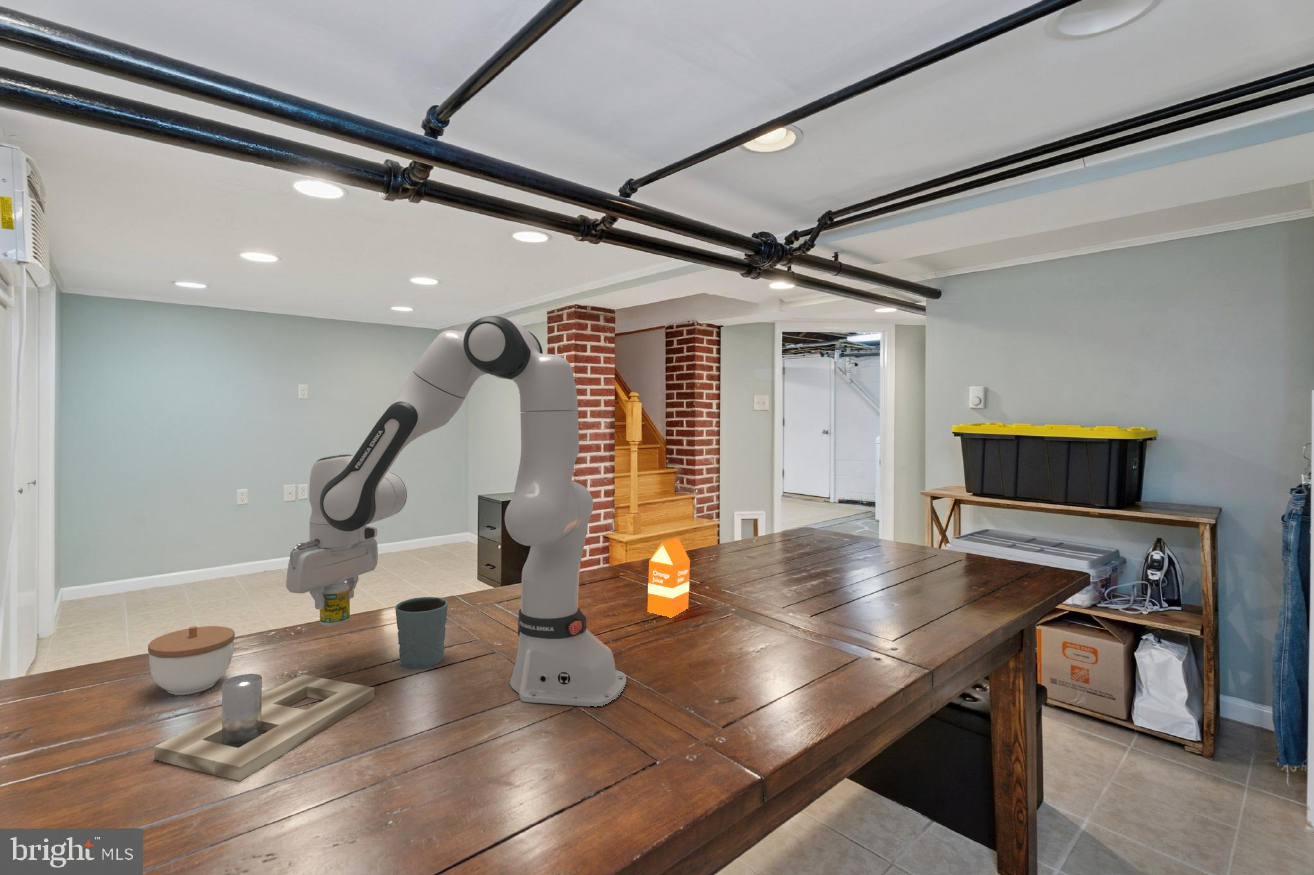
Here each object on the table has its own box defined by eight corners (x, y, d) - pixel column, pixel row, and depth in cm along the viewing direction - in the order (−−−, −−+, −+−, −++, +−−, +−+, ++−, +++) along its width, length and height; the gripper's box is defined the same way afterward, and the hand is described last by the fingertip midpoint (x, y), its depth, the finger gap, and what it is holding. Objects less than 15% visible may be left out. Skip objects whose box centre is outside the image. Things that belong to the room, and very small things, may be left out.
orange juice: (688, 612, 163) (691, 539, 162) (671, 621, 155) (674, 544, 155) (664, 606, 167) (666, 535, 166) (646, 615, 159) (649, 540, 159)
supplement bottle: (348, 616, 125) (348, 570, 125) (351, 623, 121) (351, 576, 121) (318, 620, 122) (318, 573, 122) (320, 628, 118) (320, 579, 118)
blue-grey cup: (456, 656, 128) (458, 601, 128) (419, 674, 119) (421, 614, 119) (421, 647, 132) (422, 593, 132) (383, 664, 123) (384, 606, 123)
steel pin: (269, 739, 94) (269, 676, 94) (239, 756, 89) (239, 690, 89) (244, 733, 95) (244, 671, 95) (213, 750, 91) (213, 685, 90)
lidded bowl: (250, 678, 115) (250, 621, 114) (179, 708, 103) (179, 644, 102) (204, 667, 119) (204, 612, 119) (130, 694, 107) (130, 633, 107)
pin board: (374, 698, 109) (374, 687, 109) (239, 781, 84) (239, 766, 83) (302, 685, 113) (303, 674, 113) (154, 759, 88) (154, 746, 88)
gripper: (304, 546, 110) (305, 621, 111) (383, 527, 130) (383, 591, 130) (277, 544, 112) (277, 617, 112) (358, 525, 132) (359, 588, 132)
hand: (335, 603), depth 122 cm, fingers closed on supplement bottle, 5 cm apart
